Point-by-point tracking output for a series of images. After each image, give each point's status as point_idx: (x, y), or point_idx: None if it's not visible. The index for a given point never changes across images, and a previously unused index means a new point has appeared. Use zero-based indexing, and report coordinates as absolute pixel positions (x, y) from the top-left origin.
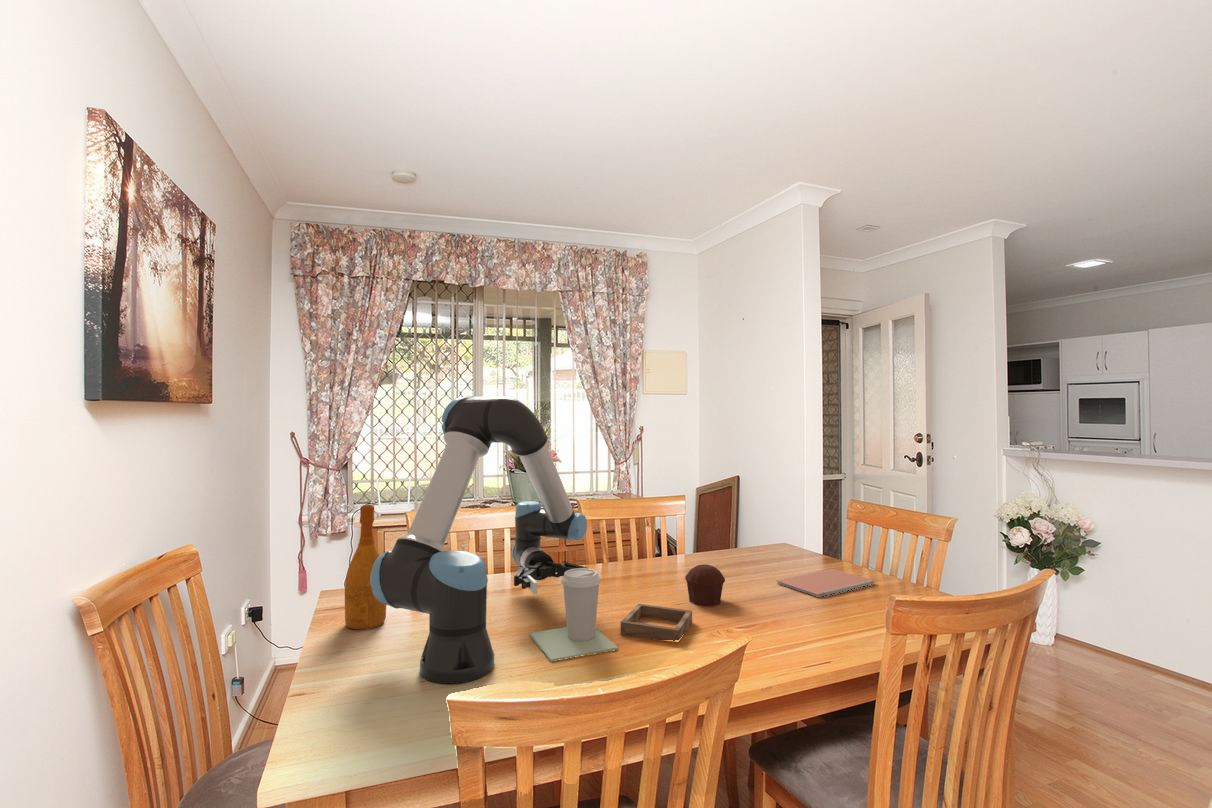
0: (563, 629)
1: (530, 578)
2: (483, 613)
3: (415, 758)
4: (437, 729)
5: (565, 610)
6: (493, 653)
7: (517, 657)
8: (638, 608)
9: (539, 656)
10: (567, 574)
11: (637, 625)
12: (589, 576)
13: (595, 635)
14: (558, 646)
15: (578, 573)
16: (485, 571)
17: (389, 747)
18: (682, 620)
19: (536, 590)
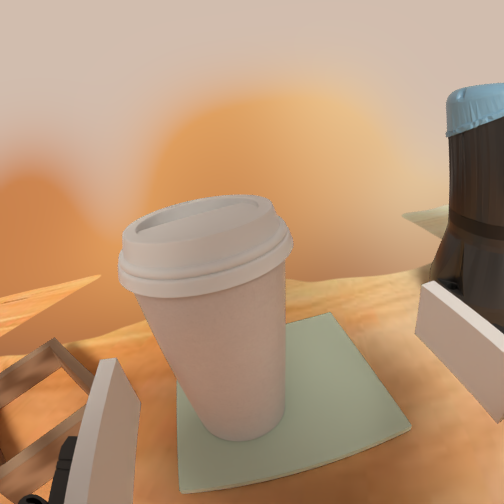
0: (293, 456)
1: (487, 325)
2: (449, 189)
3: (416, 212)
4: (421, 225)
5: (285, 344)
6: (436, 279)
7: (403, 327)
8: (15, 456)
9: (357, 333)
10: (261, 201)
11: (92, 374)
12: (185, 202)
13: None
14: (315, 356)
15: (206, 219)
16: (449, 109)
17: (442, 215)
18: (12, 368)
19: (419, 320)
